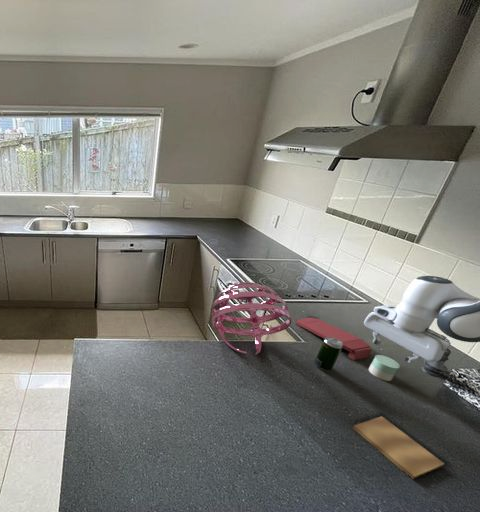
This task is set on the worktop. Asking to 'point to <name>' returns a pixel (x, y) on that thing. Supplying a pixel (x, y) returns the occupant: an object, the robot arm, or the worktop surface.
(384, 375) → the white round disc
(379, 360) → the mint green round lid
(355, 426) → the oak board
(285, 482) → the worktop surface
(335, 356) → the beer can
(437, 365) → the grey chess piece
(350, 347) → the red long block
